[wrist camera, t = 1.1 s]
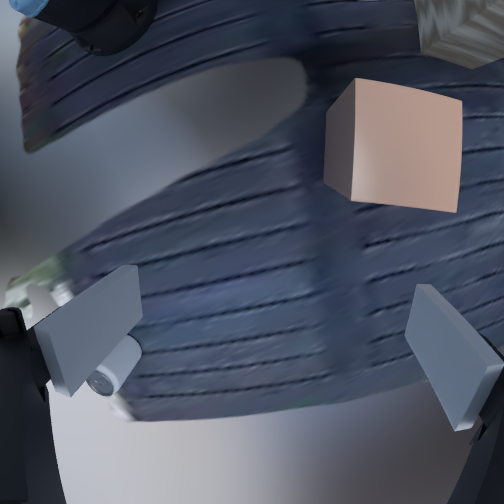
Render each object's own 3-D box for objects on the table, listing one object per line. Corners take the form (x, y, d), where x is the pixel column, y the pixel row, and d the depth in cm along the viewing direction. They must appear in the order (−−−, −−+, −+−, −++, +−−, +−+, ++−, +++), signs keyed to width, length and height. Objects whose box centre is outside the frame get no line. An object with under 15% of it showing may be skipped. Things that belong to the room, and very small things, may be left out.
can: (108, 335, 54) (76, 370, 43) (132, 329, 53) (101, 366, 42) (124, 362, 56) (96, 399, 45) (148, 357, 55) (122, 397, 43)
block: (389, 188, 41) (456, 212, 22) (323, 181, 42) (350, 200, 23) (393, 120, 38) (461, 101, 19) (326, 112, 39) (355, 78, 20)
